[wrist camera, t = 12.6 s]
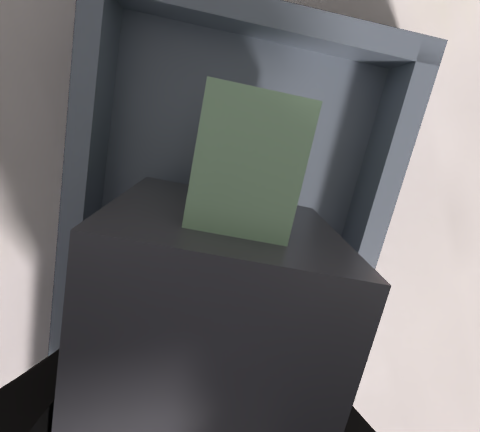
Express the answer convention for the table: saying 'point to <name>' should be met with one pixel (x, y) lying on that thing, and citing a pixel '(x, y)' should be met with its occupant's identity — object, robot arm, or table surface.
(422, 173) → the table surface
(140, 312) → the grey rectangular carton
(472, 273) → the table surface
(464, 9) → the table surface
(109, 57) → the tray
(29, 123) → the table surface
